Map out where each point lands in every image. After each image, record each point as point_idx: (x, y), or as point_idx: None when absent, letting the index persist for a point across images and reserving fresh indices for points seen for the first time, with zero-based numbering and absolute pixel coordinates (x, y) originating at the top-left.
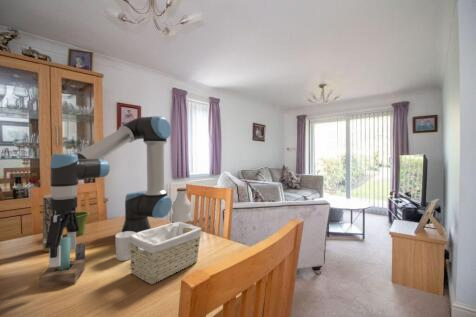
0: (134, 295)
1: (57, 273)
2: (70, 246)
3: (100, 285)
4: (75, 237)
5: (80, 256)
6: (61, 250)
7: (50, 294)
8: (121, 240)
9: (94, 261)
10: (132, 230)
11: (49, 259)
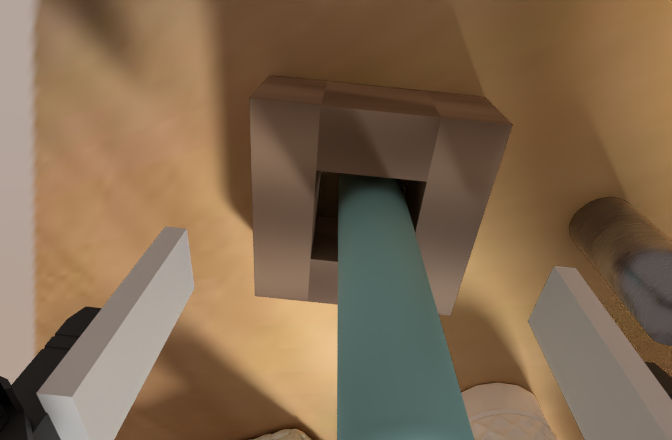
0: (127, 423)
1: (273, 208)
2: (556, 316)
3: (225, 341)
4: (589, 437)
5: (593, 258)
6: (338, 323)
7: (191, 162)
8: None
9: (537, 296)
10: None
11: (130, 274)
